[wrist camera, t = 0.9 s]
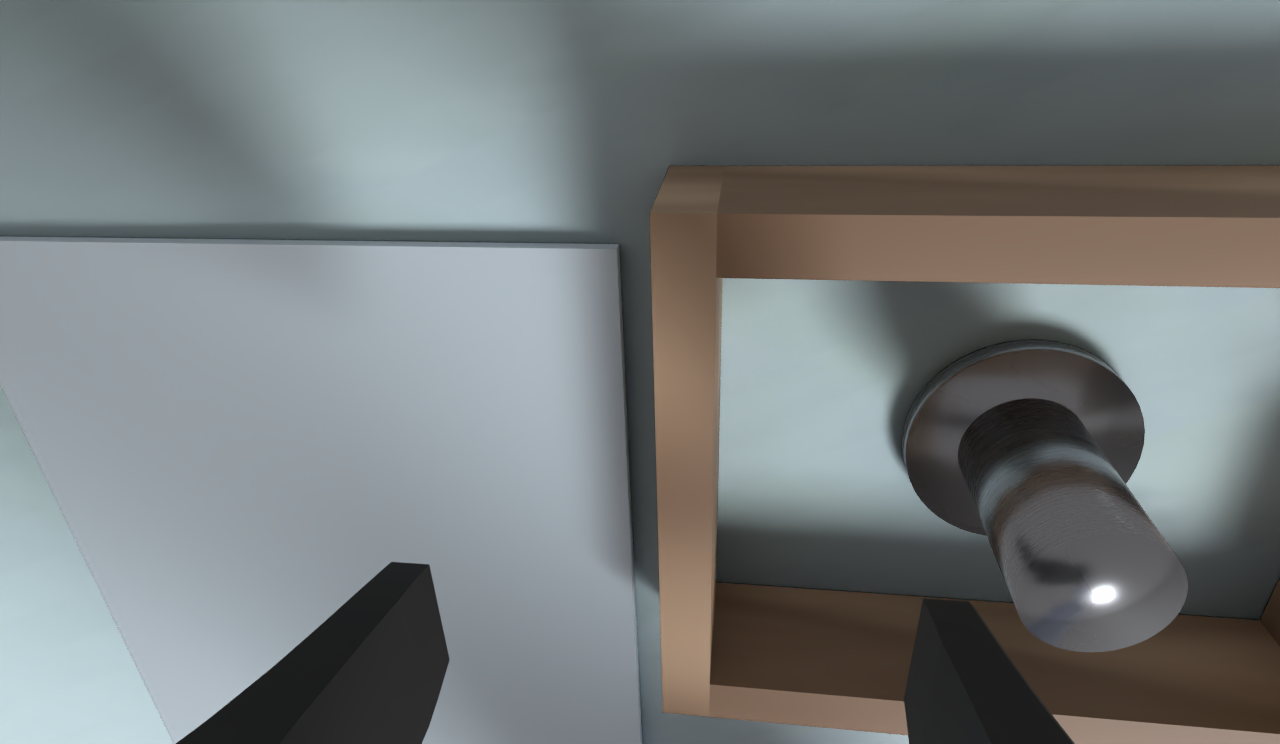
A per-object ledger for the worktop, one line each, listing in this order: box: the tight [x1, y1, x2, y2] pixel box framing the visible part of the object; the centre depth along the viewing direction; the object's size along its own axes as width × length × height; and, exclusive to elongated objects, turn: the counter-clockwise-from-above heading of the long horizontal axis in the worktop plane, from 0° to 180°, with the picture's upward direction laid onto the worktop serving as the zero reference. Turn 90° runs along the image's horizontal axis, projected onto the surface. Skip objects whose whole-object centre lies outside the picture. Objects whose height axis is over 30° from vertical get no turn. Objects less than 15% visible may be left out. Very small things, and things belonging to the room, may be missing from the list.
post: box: [902, 340, 1188, 652], centre depth 14 cm, size 4×4×4 cm
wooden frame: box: [650, 165, 1280, 744], centre depth 14 cm, size 11×14×3 cm
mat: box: [0, 236, 642, 744], centre depth 20 cm, size 18×15×1 cm
